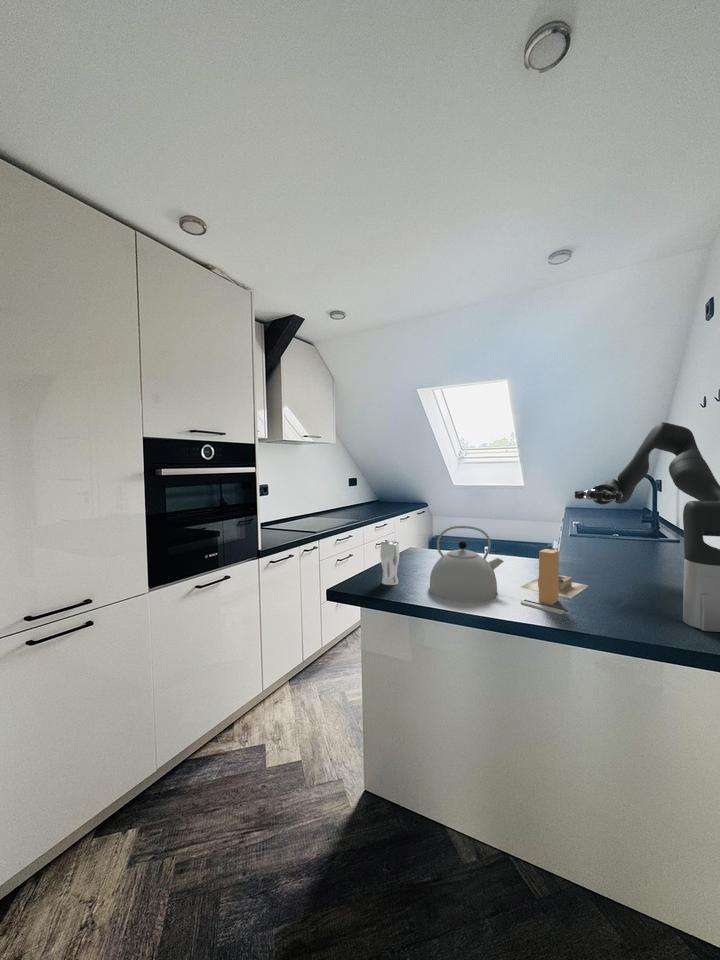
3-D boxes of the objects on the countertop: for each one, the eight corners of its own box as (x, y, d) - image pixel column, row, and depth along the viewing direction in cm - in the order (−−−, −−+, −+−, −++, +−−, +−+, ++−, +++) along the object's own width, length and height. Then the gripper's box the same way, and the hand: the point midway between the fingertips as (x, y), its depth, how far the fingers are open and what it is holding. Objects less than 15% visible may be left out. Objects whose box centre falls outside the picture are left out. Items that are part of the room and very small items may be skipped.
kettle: (497, 581, 142) (497, 521, 141) (511, 604, 120) (511, 532, 119) (428, 579, 146) (428, 520, 145) (430, 600, 124) (429, 531, 123)
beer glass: (380, 580, 145) (380, 540, 145) (398, 580, 145) (398, 540, 145) (380, 585, 139) (380, 544, 138) (400, 585, 138) (399, 544, 138)
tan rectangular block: (558, 601, 119) (558, 550, 119) (552, 605, 116) (552, 553, 115) (545, 598, 122) (545, 548, 121) (538, 602, 119) (539, 551, 118)
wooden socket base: (589, 588, 133) (589, 574, 133) (570, 601, 121) (570, 586, 121) (541, 578, 145) (541, 566, 145) (520, 589, 133) (520, 576, 132)
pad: (576, 603, 119) (576, 602, 119) (562, 614, 111) (562, 612, 111) (537, 594, 128) (537, 592, 127) (520, 603, 119) (520, 601, 119)
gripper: (584, 483, 151) (570, 485, 139) (627, 484, 140) (616, 486, 129) (584, 502, 151) (570, 505, 140) (627, 504, 141) (615, 508, 129)
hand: (592, 496), depth 134 cm, fingers open, 8 cm apart
